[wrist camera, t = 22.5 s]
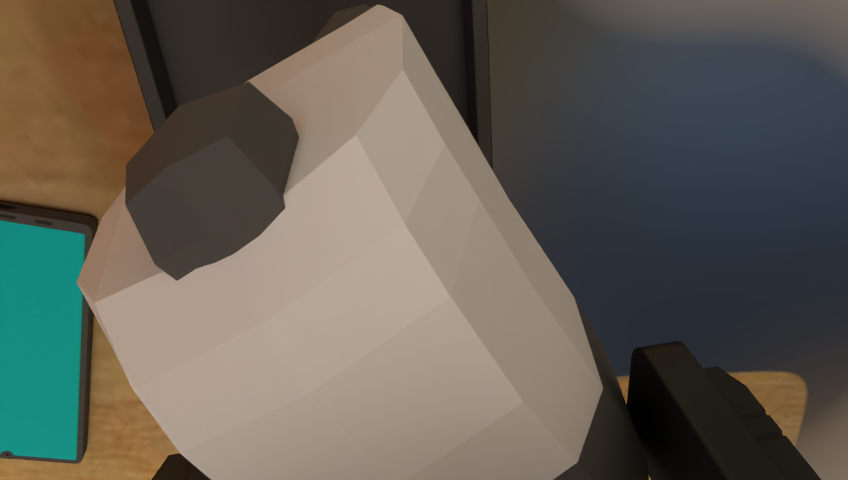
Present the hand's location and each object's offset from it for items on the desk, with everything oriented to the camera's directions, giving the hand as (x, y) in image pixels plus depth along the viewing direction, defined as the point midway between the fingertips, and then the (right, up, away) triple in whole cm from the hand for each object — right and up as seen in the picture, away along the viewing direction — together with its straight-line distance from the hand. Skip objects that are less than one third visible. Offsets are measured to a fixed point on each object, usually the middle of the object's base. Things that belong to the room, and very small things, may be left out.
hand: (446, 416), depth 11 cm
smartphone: (-21, -2, +21) cm, 29 cm away
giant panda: (-1, +3, +5) cm, 6 cm away
